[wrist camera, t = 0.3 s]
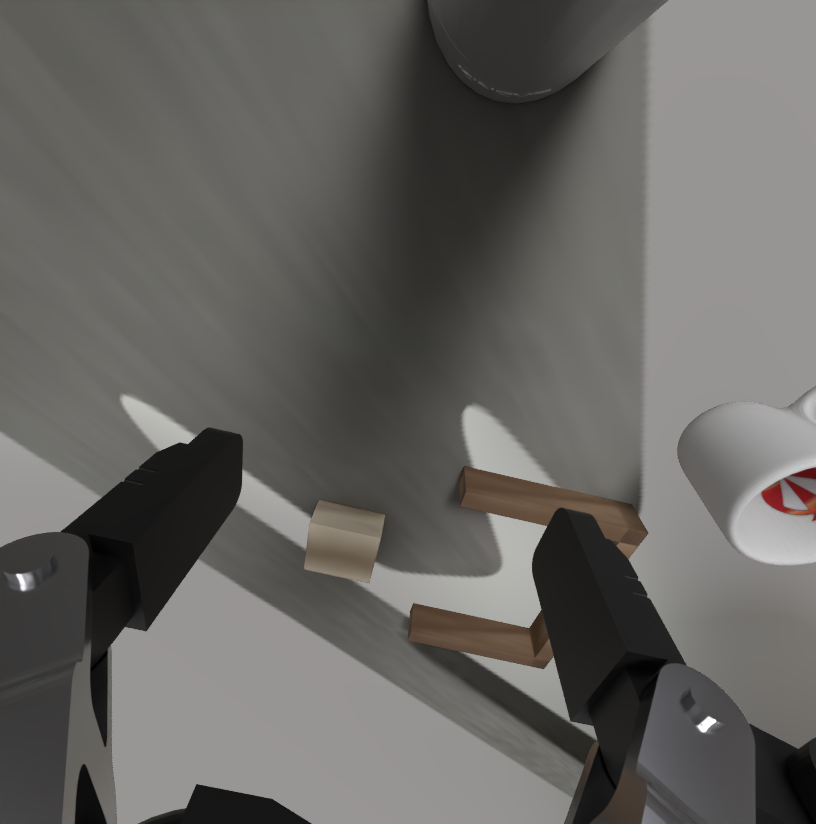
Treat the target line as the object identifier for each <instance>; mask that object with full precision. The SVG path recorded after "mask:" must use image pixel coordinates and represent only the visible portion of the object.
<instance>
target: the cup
mask: <svg viewBox="0 0 816 824" xmlns="http://www.w3.org/2000/svg"><path fill="white" fill-rule="evenodd" d="M678 459H679V462H680V465H681V467H682V469H683V471H684V473H685V475H686V476H687V477H688V479H689V481H690V482H691V484H692V485H693V487H694V489H695V490H696V492H697V493H698V495H699V497H700V498H701V500H702V501H703V503H704V504H705V506H706V508H707V509H708V511H709V512H710V514H711V515H712V517H713V518H714V520H715V522H716V523H717V525H718V526H719V528H720V530H721V531H722V533H723V534H724V536H725V538H726V539H727V540H728V542H729V543H730V544H731V546H732V547H733V548H734V549H735V550H737V551H738V552H739V553H740V554H742V555H744V556H746V557H747V558H750V559H752V560H755V561H758V562H761V563H766V564H772V565H800V564H808V563H812V562H816V386H815V387H813V388H812V389H810V390H809V391H807V392H806V393H805V394H804V395H802V396H801V397H800V398H799V399H798V400H796V401H795V402H794V403H793V404H791V405H790V406H788V407H786V408H779V409H778V408H773V407H771V406H767V405H764V404H760V403H755V402H733V403H727V404H723V405H719V406H717V407H714V408H712V409H709V410H708V411H706V412H704V413H702V414H701V415H699V416H698V417H697V418H695V419H694V420H693V421H692V422H691V423H690V424H689V425H688V426H687V427H686V429H685V430H684V431H683V433H682V435H681V437H680V440H679V443H678Z"/></svg>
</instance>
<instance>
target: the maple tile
mask: <svg viewBox="0 0 816 824" xmlns="http://www.w3.org/2000/svg"><path fill="white" fill-rule="evenodd" d="M384 519H385V515H384V514H379V513H375V512H371V511H366V510H362V509H357V508H353V507H348V506H344V505H339V504H335V503H330V502H326V501H321V500H319V501H318V504H317V506H316V508H315V511H314V513H313V516H312V518H311V521H310V524H309V532H308V541H307V548H306V556H305V564H304V569H305V570H310V571H314V572H319V573H324V574H328V575H333V576H338V577H342V578H347V579H352V580H356V581H361V582H366V583H369V582H370V578H371V574H372V570H373V567H374V563H375V559H376V555H377V552H378V548H379V544H380V540H381V536H382V530H383V525H384Z"/></svg>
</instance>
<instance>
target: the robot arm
mask: <svg viewBox="0 0 816 824" xmlns="http://www.w3.org/2000/svg"><path fill="white" fill-rule="evenodd" d="M667 1H668V0H427V2H428V10H429V17H430V21H431V24H432V27H433V31H434V34H435V38H436V41H437V44H438V46H439V48H440V49H441V51H442V53H443V55H444V57H445V59H446V61H447V63H448V65H449V66H450V67H451V69H452V70H453V71H454V72H455V73H456V75H457V76H458V77H459V78H460V80H461V81H462V82H463V83H465V84H466V85H467V86H469V87H470V88H471V89H473V90H474V91H475V92H476V93H478V94H480V95H482V96H485V97H487V98H490V99H492V100H494V101H499V102H507V103H515V104H516V103H523V102H530V101H536V100H539V99H541V98H544V97H546V96H549V95H551V94H554V93H556V92H558V91H559V90H561V89H562V88H564V87H565V86H567V85H568V84H570V83H571V82H573V81H574V80H576V79H577V78H578V77H579V76H580V75H581V74H583V73H584V72H585V71H586V70H587V69H588V68H590V67H591V66H592V65H593V64H594V63H595V62H596V61H598V60H599V59H600V58H601V57H603V56H604V55H605V54H606V53H608V52H609V51H610V50H611V49H612V48H613V47H615V46H616V45H617V44H618V43H619V42H620V41H622V40H623V39H624V38H625V37H626V36H627V35H629V34H630V33H631V32H632V31H633V30H634V29H635V28H637V27H638V26H639V25H640V24H641V23H642V22H644V21H645V20H646V19H647V18H648V17H649V16H651V15H652V14H653V13H654V12H655V11H656V10H658V9H659V8H660V7H661V6H662V5H663V4H665V3H666V2H667ZM242 458H243V439H242V436H241V435H240V434H236V433H232V432H227V431H223V430H218V429H214V428H206V429H205V430H203V431H202V432H201V433H200V434H199V435H198V436H197V437H195V438H194V439H193V440H192V441H191V442H190V443H189V444H184V443H178V444H175V445H173V446H170V447H168V448H166V449H163V450H161V451H159V452H157V453H155V454H154V455H153V456H152V457H150V458H149V459H148V460H147V461H146V462H144V463H143V464H142V465H141V466H140V467H139V469H138V470H135V471H134V472H132V473H131V474H130V475H129V476H127V477H126V478H125V481H124V482H120V483H119V484H118V485H117V486H115V487H114V488H113V489H112V490H111V491H109V492H108V493H107V494H106V495H105V496H103V497H102V498H101V499H100V500H98V501H97V502H96V503H95V504H94V505H93V506H91V507H90V508H89V509H88V510H86V511H85V512H84V513H83V514H82V515H80V516H79V517H78V518H77V519H76V520H74V521H73V522H72V523H71V524H70V525H68V526H67V527H66V528H65V529H63V530H62V531H61V532H51V533H42V534H36V535H32V536H28V537H25V538H22V539H19V540H16V541H13V542H11V543H9V544H6V545H4V546H2V547H1V548H0V824H117V816H116V815H117V814H116V794H115V783H114V775H113V767H112V652H111V651H112V650H111V644H112V643H113V641H114V640H115V639H116V638H117V636H118V635H119V634H120V632H121V631H122V630H123V628H124V627H128V628H134V629H138V630H143V631H147V630H148V628H149V627H150V625H151V624H152V622H153V621H154V620H155V618H156V617H157V616H158V614H159V613H160V611H161V610H162V609H163V607H164V606H165V604H166V603H167V602H168V600H169V599H170V597H171V596H172V594H173V593H174V592H175V590H176V589H177V587H178V586H179V585H180V583H181V582H182V580H183V579H184V578H185V576H186V575H187V573H188V572H189V570H190V569H191V568H192V566H193V565H194V564H195V562H196V561H197V559H198V558H199V556H200V555H201V554H202V552H203V551H204V549H205V548H206V547H207V545H208V544H209V542H210V541H211V540H212V538H213V537H214V535H215V534H216V533H217V531H218V530H219V528H220V527H221V526H222V524H223V523H224V521H225V520H226V519H227V517H228V516H229V514H230V513H231V511H232V510H233V509H234V507H235V505H236V503H237V500H238V498H239V495H240V492H241V486H242ZM532 573H533V578H534V582H535V586H536V589H537V593H538V597H539V601H540V605H541V609H542V613H543V617H544V620H545V624H546V628H547V632H548V636H549V640H550V644H551V647H552V651H553V655H554V659H555V663H556V667H557V671H558V675H559V678H560V682H561V686H562V690H563V694H564V697H565V702H566V705H567V709H568V713H569V717H570V721H572V722H577V723H582V724H587V725H591V726H594V729H595V733H596V736H597V739H598V740H597V741H596V742H595V743H594V744H593V745H592V747H591V749H590V752H589V755H588V758H587V760H586V763H585V766H584V769H583V772H582V775H581V777H580V780H579V783H578V786H577V789H576V791H575V794H574V797H573V800H572V803H571V805H570V808H569V811H568V814H567V817H566V820H565V822H564V824H816V738H814V739H812V740H811V741H809V742H808V743H806V744H805V745H803V746H802V747H801V748H799V749H797V748H795V747H793V746H791V745H790V744H788V743H786V742H784V741H782V740H780V739H778V738H776V737H774V736H772V735H770V734H768V733H766V732H764V731H762V730H760V729H759V728H757V727H755V726H753V725H751V724H749V723H748V721H747V719H746V718H745V716H744V714H743V713H742V711H741V710H740V709H739V707H738V706H737V705H736V703H735V702H734V701H733V700H732V699H731V697H730V696H729V695H728V694H727V693H726V692H725V691H724V690H723V689H722V688H721V687H720V686H718V685H717V684H716V683H715V682H714V681H712V680H711V679H710V678H709V677H707V676H706V675H704V674H702V673H701V672H699V671H697V670H695V669H693V668H691V667H688V666H687V665H686V663H685V662H684V660H683V658H682V656H681V654H680V652H679V651H678V649H677V647H676V645H675V643H674V642H673V640H672V638H671V636H670V634H669V632H668V631H667V629H666V627H665V625H664V624H663V622H662V620H661V618H660V616H659V614H658V613H657V611H656V609H655V607H654V605H653V603H652V602H651V600H650V599H649V598H647V593H646V591H645V589H644V587H643V585H642V584H641V582H640V581H638V576H637V574H636V573H635V571H634V569H633V567H632V565H631V563H630V562H629V560H628V558H627V557H626V556H625V555H624V554H623V553H622V552H621V550H620V549H619V548H618V547H617V546H616V545H615V544H614V543H613V542H612V541H611V540H610V539H606V538H605V537H604V535H603V533H602V531H601V529H600V527H599V525H598V523H597V521H596V519H595V518H594V516H593V515H591V514H588V513H584V512H579V511H575V510H570V509H566V508H558V509H557V510H556V511H555V513H554V514H553V516H552V518H551V520H550V522H549V524H548V526H547V528H546V530H545V532H544V534H543V536H542V538H541V540H540V542H539V543H538V546H537V547H536V549H535V552H534V556H533V562H532ZM139 824H311V823H310V822H308V821H306V820H305V819H303V818H301V817H300V816H298V815H297V814H295V813H294V812H292V811H290V810H289V809H287V808H286V807H284V806H282V805H281V804H279V803H278V802H276V801H274V800H273V799H269V798H264V797H259V796H254V795H249V794H244V793H238V792H234V791H229V790H223V789H218V788H213V787H208V786H203V785H198V784H197V785H196V787H195V789H194V791H193V794H192V796H191V798H190V801H189V803H188V806H187V808H185V809H179V810H174V811H171V812H168V813H164V814H161V815H158V816H155V817H152V818H150V819H147V820H145V821H143V822H141V823H139Z"/></svg>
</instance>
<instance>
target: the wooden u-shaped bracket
mask: <svg viewBox="0 0 816 824" xmlns="http://www.w3.org/2000/svg"><path fill="white" fill-rule="evenodd" d="M459 489H460V506H461V507H466V508H470V509H475V510H479V511H483V512H488V513H492V514H497V515H501V516H505V517H510V518H515V519H519V520H524V521H528V522H533V523H537V524H541V525H545V526H548V524H549V522H550V520H551V518H552V516H553V514H554V513H555V511H556V510H557V509H558V508H566V509H570V510H575V511H579V512H584V513H588V514H591V515H593V516H594V518H595V519H596V521H597V523H598V525H599V527H600V529H601V531H602V533H603V535H604V537H605V538H606V539H610V540H611V541H612V542H613V543H614V544H615V545H616V546H617V547H618V548H619V549H620V550H621V552H622V553H623V554H624V555H625V556H626V557H627V558H628V559H629V558H630V556H631V555H632V554H633V553H634V551H635V550H636V549H637V547H638V546H639V544H640V543H641V542H642V541H643V540H644V538H645V537H646V536H647V534H648V532H647V530H646V528H645V527H644V525H643V523H642V521H641V520H640V518H639V516H638V515H637V513H636V511H635V509H634V508H633V506H632V505H631V504H626V503H622V502H618V501H613V500H609V499H605V498H600V497H596V496H592V495H587V494H583V493H579V492H574V491H570V490H565V489H561V488H557V487H552V486H548V485H544V484H539V483H535V482H531V481H526V480H522V479H518V478H513V477H509V476H505V475H500V474H496V473H492V472H487V471H483V470H478V469H474V468H470V467H465V466H464V469H463V471H462V474H461V477H460V479H459ZM408 640H409V641H414V642H419V643H423V644H428V645H433V646H437V647H442V648H447V649H452V650H456V651H461V652H466V653H470V654H475V655H480V656H484V657H489V658H494V659H498V660H503V661H508V662H513V663H517V664H522V665H527V666H531V667H536V668H541V669H544V668H545V667H546V665H547V664H548V663H549V662H550V660H551V659H552V658H553V656H554V655H553V651H552V647H551V644H550V640H549V636H548V632H547V628H546V624H545V620H544V617H543V613H542V610H541V611H540V613H539V614H538V616H537V617H536V619H535V621H534V622H533V623H532V625H531V626H530V628H525V627H520V626H516V625H511V624H507V623H502V622H497V621H493V620H488V619H484V618H479V617H474V616H470V615H465V614H461V613H456V612H451V611H447V610H442V609H438V608H433V607H428V606H424V605H419V604H414V603H413V605H412V608H411V611H410V620H409V631H408Z"/></svg>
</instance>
